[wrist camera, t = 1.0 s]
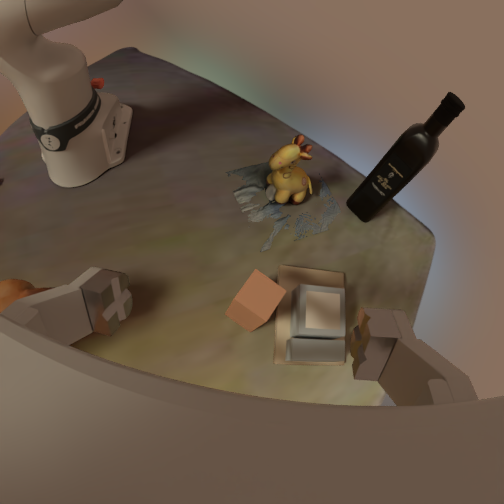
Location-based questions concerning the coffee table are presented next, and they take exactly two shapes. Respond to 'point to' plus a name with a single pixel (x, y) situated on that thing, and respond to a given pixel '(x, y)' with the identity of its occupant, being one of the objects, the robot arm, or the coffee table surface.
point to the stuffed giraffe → (282, 189)
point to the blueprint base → (310, 317)
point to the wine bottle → (403, 160)
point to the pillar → (255, 301)
